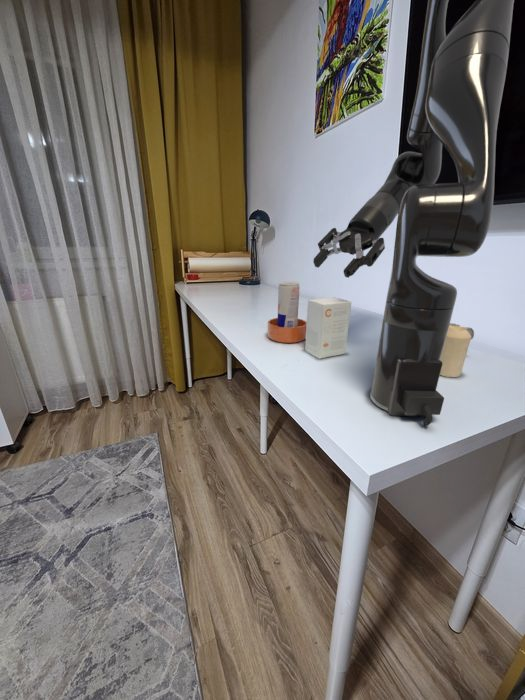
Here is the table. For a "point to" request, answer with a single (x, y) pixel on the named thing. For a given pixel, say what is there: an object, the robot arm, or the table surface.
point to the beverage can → (288, 304)
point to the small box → (327, 326)
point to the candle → (454, 351)
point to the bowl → (287, 332)
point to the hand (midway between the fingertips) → (329, 269)
